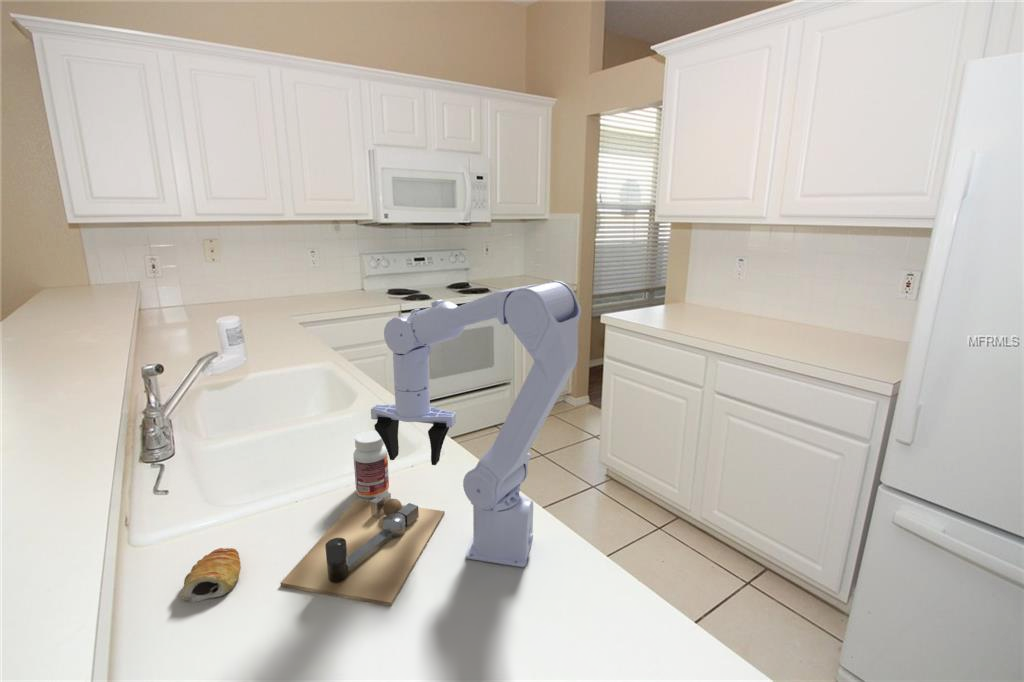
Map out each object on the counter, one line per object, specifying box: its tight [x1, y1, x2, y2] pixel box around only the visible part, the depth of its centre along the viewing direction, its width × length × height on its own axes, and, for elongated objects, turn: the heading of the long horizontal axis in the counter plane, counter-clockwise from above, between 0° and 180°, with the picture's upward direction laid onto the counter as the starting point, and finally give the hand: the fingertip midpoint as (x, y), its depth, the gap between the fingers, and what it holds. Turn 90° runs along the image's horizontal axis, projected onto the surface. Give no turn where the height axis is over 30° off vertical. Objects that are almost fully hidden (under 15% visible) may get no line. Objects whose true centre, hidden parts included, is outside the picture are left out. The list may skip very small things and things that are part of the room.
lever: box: [325, 502, 419, 582], centre depth 79 cm, size 18×4×5 cm, turn 151°
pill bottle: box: [353, 430, 390, 499], centre depth 95 cm, size 6×6×11 cm
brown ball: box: [383, 498, 403, 516], centre depth 87 cm, size 3×3×3 cm
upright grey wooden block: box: [370, 491, 392, 518], centre depth 88 cm, size 4×1×3 cm, turn 153°
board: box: [280, 498, 445, 607], centre depth 80 cm, size 17×22×1 cm
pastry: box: [180, 547, 242, 603], centre depth 73 cm, size 9×7×4 cm
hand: (414, 459), depth 87 cm, fingers open, 7 cm apart
